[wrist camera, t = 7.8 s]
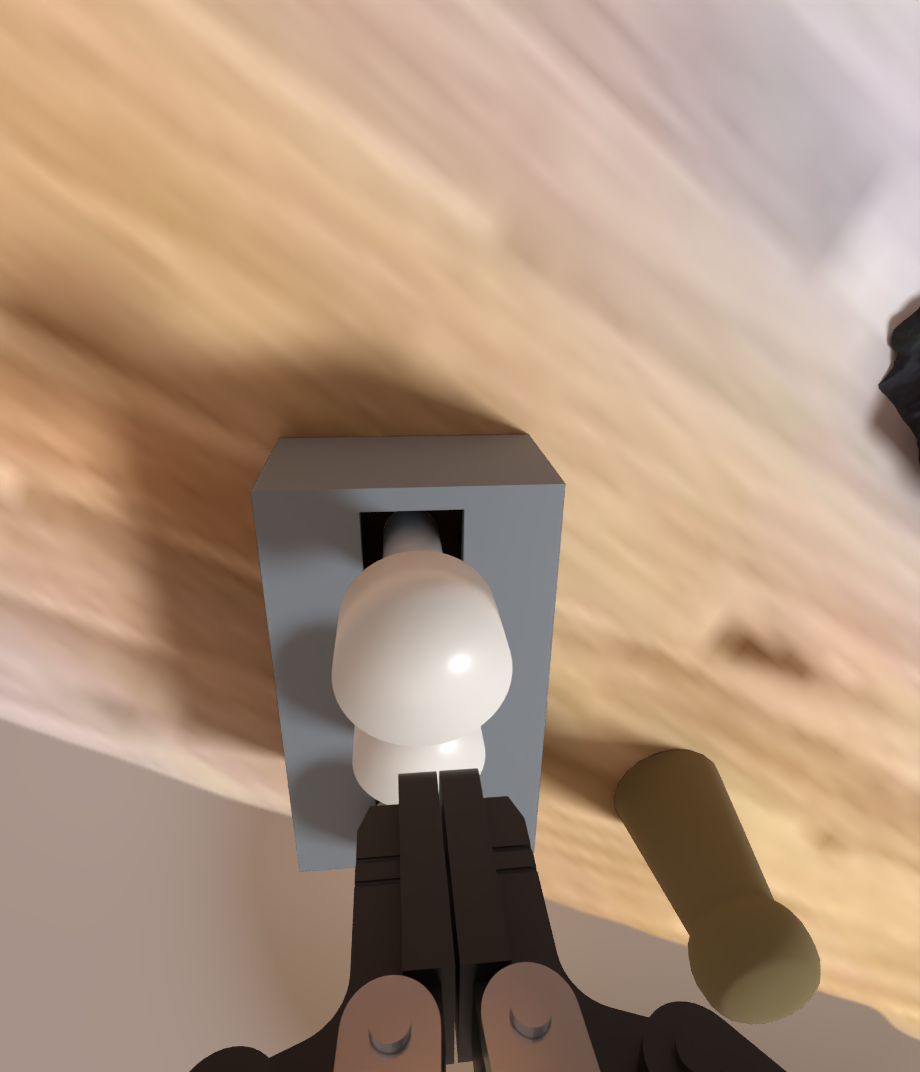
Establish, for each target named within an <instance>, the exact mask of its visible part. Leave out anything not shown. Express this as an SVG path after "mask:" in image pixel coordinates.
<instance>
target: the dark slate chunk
mask: <svg viewBox="0 0 920 1072" xmlns="http://www.w3.org/2000/svg"><path fill="white" fill-rule="evenodd" d="M892 346H893V349H895V350H897V351H898V353H899V359H898V360H896V361H894V367H893V369H892V370H891V371H890V373H889V374H888V375H887V377H886V378H885V379H884V380H883V381H882V382H881V383H880V384H879V389H880V390H881V391H882V392H883V393H884V394H885V395H886V396H887V397H888V399H889V400H890V401H891V402H892V403H893V404H894V406H895V407H896V409H897V410H898V412H899V414H900V415H901V417H902V418H903V420H904V421H905V422H906V423H907V425H908V426H909V427H910V429H911V430H912V432H913V433H914V435H915V436H916V438H917V439H918V448H919V462H920V308H919V309H918V310H917V311H916V312H915V313H913V314H912V315H911V316H910V317H908V318H907V319H906V320H904V321H903V322H902V323H901V324H900V325H898V326H897V327H896V328H895V329H894V332H893V336H892Z"/></svg>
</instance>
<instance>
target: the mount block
mask: <svg viewBox="0 0 920 1072" xmlns="http://www.w3.org/2000/svg"><path fill="white" fill-rule="evenodd" d="M564 495H565V483H564V481H563V480H562V479H561V477H560V476H559V474H558V473H557V472H556V470H555V469H554V468H553V466H552V465H551V464H550V462H549V461H548V460H547V458H546V457H545V456H544V454H543V453H542V451H541V450H540V449H539V447H538V446H537V445H536V443H535V442H534V441H533V439H532V438H531V437H530V435H529V434H508V435H444V436H379V437H315V438H279V439H278V441H277V443H276V445H275V447H274V449H273V451H272V452H271V454H270V456H269V458H268V460H267V462H266V464H265V465H264V467H263V469H262V471H261V473H260V475H259V477H258V478H257V480H256V482H255V484H254V486H253V488H252V489H251V499H252V507H253V515H254V522H255V530H256V538H257V546H258V553H259V561H260V569H261V577H262V585H263V592H264V600H265V608H266V616H267V624H268V631H269V639H270V647H271V655H272V663H273V670H274V678H275V686H276V694H277V701H278V709H279V717H280V725H281V733H282V740H283V748H284V756H285V764H286V772H287V779H288V787H289V795H290V803H291V811H292V818H293V826H294V833H295V841H296V849H297V856H298V865H299V872H307V871H320V870H331V869H344V868H355V866H356V846H357V830H358V828H359V826H360V825H361V823H362V821H363V819H364V817H365V815H366V813H367V811H368V809H369V807H370V806H376V805H377V804H379V803H380V801H378V800H376V799H374V798H373V797H372V796H370V795H369V794H368V793H367V792H366V791H365V790H364V789H363V788H362V787H361V786H360V784H359V783H358V781H357V779H356V777H355V774H354V771H353V765H352V758H353V742H354V727H355V725H354V724H353V723H352V722H351V721H350V720H349V719H348V717H347V716H346V715H345V714H344V712H343V711H342V709H341V708H340V706H339V704H338V702H337V700H336V697H335V694H334V691H333V686H332V664H333V656H334V649H335V641H336V633H337V625H338V617H339V610H340V606H341V602H342V599H343V597H344V595H345V593H346V591H347V589H348V588H349V586H350V585H351V583H352V582H353V581H354V579H355V578H356V577H357V576H358V575H359V574H360V573H361V572H362V571H363V554H362V536H361V518H360V512H386V511H423V510H460V509H462V561H463V562H465V563H467V564H468V565H470V566H471V567H472V568H474V569H475V570H476V571H477V572H478V573H479V574H480V575H481V576H482V577H483V579H484V580H485V581H486V583H487V584H488V586H489V588H490V590H491V592H492V594H493V597H494V600H495V603H496V606H497V609H498V613H499V616H500V619H501V623H502V626H503V629H504V632H505V636H506V639H507V642H508V646H509V649H510V652H511V658H512V679H511V684H510V687H509V690H508V693H507V695H506V697H505V699H504V701H503V702H502V704H501V706H500V707H499V709H498V710H497V711H496V712H495V713H494V715H493V716H492V717H491V718H490V719H488V720H487V721H486V722H485V723H484V724H483V725H481V731H482V736H483V741H484V746H485V763H484V766H483V770H482V772H481V774H480V781H481V787H482V792H483V798H487V797H501V796H508V797H509V798H510V799H511V801H512V802H513V803H514V805H515V806H516V807H517V809H518V810H519V811H520V813H521V814H522V815H523V817H524V818H525V822H526V826H527V830H528V835H529V839H530V843H531V849H532V851H533V853H534V847H535V835H536V824H537V812H538V800H539V788H540V777H541V765H542V753H543V741H544V730H545V718H546V706H547V695H548V683H549V671H550V659H551V648H552V636H553V624H554V613H555V601H556V589H557V577H558V566H559V554H560V542H561V530H562V519H563V507H564Z"/></svg>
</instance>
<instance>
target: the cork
mask: <svg viewBox="0 0 920 1072" xmlns="http://www.w3.org/2000/svg"><path fill="white" fill-rule="evenodd" d="M614 802H615V810H616V812H617V813H618V815H619V817H620V818H621V820H622V822H623V823H624V825H625V827H626V828H627V830H628V832H629V834H630V835H631V837H632V839H633V840H634V842H635V844H636V845H637V847H638V849H639V851H640V852H641V854H642V856H643V857H644V859H645V861H646V862H647V864H648V866H649V868H650V869H651V871H652V873H653V874H654V876H655V878H656V879H657V881H658V883H659V884H660V886H661V888H662V890H663V891H664V893H665V895H666V896H667V898H668V900H669V901H670V903H671V905H672V907H673V908H674V910H675V912H676V913H677V915H678V917H679V918H680V920H681V922H682V924H683V925H684V927H685V929H686V930H687V932H688V934H689V935H690V938H689V942H688V953H689V961H690V966H691V971H692V974H693V976H694V979H695V981H696V984H697V986H698V987H699V989H700V990H701V992H702V993H703V995H704V996H705V997H706V999H707V1000H708V1002H709V1003H710V1004H711V1006H712V1007H713V1008H714V1009H716V1010H717V1011H718V1012H719V1013H720V1014H721V1015H723V1016H725V1017H726V1018H728V1019H730V1020H732V1021H736V1022H741V1023H747V1024H764V1023H769V1022H773V1021H777V1020H780V1019H782V1018H785V1017H787V1016H789V1015H791V1014H793V1013H794V1012H796V1011H798V1010H799V1009H801V1008H802V1007H803V1006H804V1005H805V1004H806V1003H807V1002H808V1001H809V1000H810V999H811V998H812V996H813V995H814V993H815V991H816V990H817V988H818V986H819V984H820V958H819V955H818V953H817V950H816V947H815V944H814V942H813V940H812V938H811V936H810V935H809V933H808V932H807V930H806V928H805V927H804V925H803V924H802V922H801V921H800V920H799V919H798V918H797V917H796V916H795V915H794V914H793V913H792V912H791V911H790V910H789V909H787V908H786V907H785V906H783V905H782V904H780V903H778V902H776V901H774V899H773V896H772V894H771V892H770V889H769V887H768V885H767V883H766V880H765V878H764V876H763V873H762V871H761V869H760V866H759V864H758V862H757V860H756V857H755V855H754V853H753V850H752V848H751V846H750V844H749V841H748V839H747V837H746V834H745V832H744V830H743V827H742V825H741V823H740V821H739V818H738V816H737V814H736V811H735V809H734V807H733V804H732V802H731V800H730V798H729V795H728V793H727V791H726V788H725V786H724V784H723V781H722V779H721V777H720V775H719V772H718V771H717V769H716V767H715V765H714V763H713V762H712V761H711V760H709V759H708V758H707V757H705V756H704V755H702V754H699V753H696V752H693V751H690V750H670V751H666V752H662V753H657V754H654V755H652V756H650V757H648V758H646V759H644V760H642V761H640V762H638V763H637V764H636V765H635V766H634V767H632V768H631V769H630V770H629V771H628V772H626V774H625V775H624V777H623V778H622V779H621V781H620V782H619V784H618V786H617V789H616V793H615V796H614Z"/></svg>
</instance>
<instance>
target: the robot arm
mask: <svg viewBox="0 0 920 1072" xmlns="http://www.w3.org/2000/svg"><path fill="white" fill-rule="evenodd" d="M398 794H399V804H394V805H380V806H370V807H369V809H368V811H367V813H366V815H365V817H364V819H363V821H362V823H361V825H360V826H359V828H358V830H357V846H356V866H355V868H356V869H355V888H354V909H353V929H352V949H351V970H350V980H349V986H348V990H347V993H346V995H345V998H344V1001H343V1003H342V1004H341V1006H340V1008H339V1009H338V1011H337V1013H336V1014H335V1015H334V1017H333V1018H332V1019H331V1020H330V1022H328V1023H327V1025H325V1026H324V1028H323V1029H321V1030H320V1031H319V1032H317V1033H316V1034H315V1035H313V1036H312V1037H310V1038H308V1039H307V1040H305V1041H303V1042H301V1043H299V1044H297V1045H295V1046H293V1047H291V1048H289V1049H286V1050H284V1051H282V1052H280V1053H278V1054H276V1055H274V1056H272V1057H270V1058H268V1057H267V1056H266V1055H265V1054H263V1053H262V1052H260V1051H259V1050H256V1049H254V1048H251V1047H244V1046H237V1047H230V1048H225V1049H222V1050H220V1051H217V1052H215V1053H213V1054H211V1055H210V1056H208V1057H206V1058H205V1059H203V1060H202V1061H201V1062H199V1063H198V1064H197V1065H196V1066H195V1067H194V1068H193V1069H192V1070H191V1071H190V1072H446V1064H454V1022H455V1031H456V1042H457V1053H458V1063H459V1062H469V1061H473V1066H474V1072H786V1071H785V1070H784V1069H782V1068H781V1067H780V1066H779V1065H778V1064H776V1063H775V1062H774V1061H773V1060H772V1059H770V1058H769V1057H768V1056H767V1055H766V1054H764V1053H763V1052H762V1051H760V1050H759V1049H758V1048H757V1047H756V1046H755V1045H753V1044H752V1043H751V1042H750V1041H749V1040H747V1039H746V1038H745V1037H743V1036H742V1035H741V1034H740V1033H739V1032H737V1031H736V1030H735V1029H734V1028H733V1027H732V1026H730V1025H729V1024H728V1023H727V1022H726V1021H724V1020H723V1019H722V1018H720V1017H719V1016H718V1015H716V1014H715V1013H714V1012H712V1011H710V1010H709V1009H706V1008H705V1007H703V1006H700V1005H697V1004H695V1003H690V1002H671V1003H668V1004H665V1005H663V1006H661V1007H659V1008H658V1009H657V1010H655V1011H654V1012H653V1014H652V1015H651V1016H650V1017H645V1016H641V1015H637V1014H633V1013H630V1012H625V1011H622V1010H618V1009H614V1008H611V1007H608V1006H605V1005H602V1004H600V1003H598V1002H596V1001H594V1000H592V999H591V998H589V997H588V996H586V995H584V994H583V993H582V992H581V991H580V990H579V989H578V988H577V987H576V986H575V985H574V984H573V983H572V981H571V980H570V979H569V978H568V976H567V975H566V973H565V972H564V970H563V968H562V966H561V964H560V961H559V958H558V955H557V951H556V947H555V943H554V939H553V934H552V930H551V926H550V922H549V918H548V914H547V910H546V905H545V901H544V897H543V893H542V889H541V884H540V880H539V876H538V872H537V871H536V864H535V860H534V855H533V851H532V849H531V843H530V839H529V835H528V830H527V826H526V822H525V818H524V817H523V815H522V814H521V813H520V811H519V810H518V809H517V807H516V806H515V805H514V803H513V802H512V801H511V799H510V798H509V797H508V796H501V797H487V798H483V792H482V787H481V781H480V775H479V771H478V769H477V768H473V769H458V770H443V771H439V791H438V780H437V772H436V771H432V772H417V773H402V774H398Z"/></svg>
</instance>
